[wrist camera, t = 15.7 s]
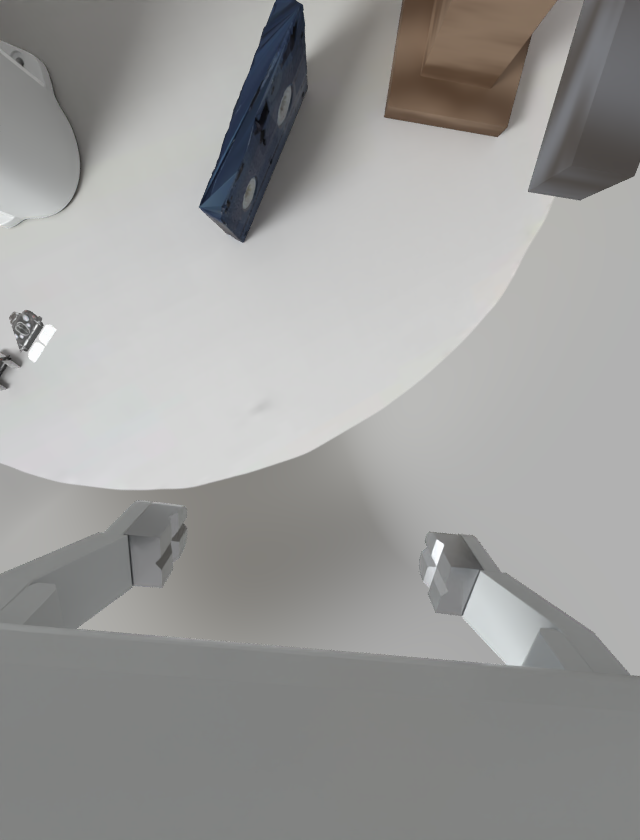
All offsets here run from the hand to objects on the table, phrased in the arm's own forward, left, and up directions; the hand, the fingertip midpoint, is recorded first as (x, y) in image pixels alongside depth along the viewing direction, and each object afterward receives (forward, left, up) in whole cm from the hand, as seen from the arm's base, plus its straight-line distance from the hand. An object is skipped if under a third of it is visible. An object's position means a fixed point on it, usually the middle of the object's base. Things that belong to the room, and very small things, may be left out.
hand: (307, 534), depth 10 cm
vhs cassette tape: (-18, +18, -37) cm, 45 cm away
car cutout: (-39, -21, -38) cm, 58 cm away
